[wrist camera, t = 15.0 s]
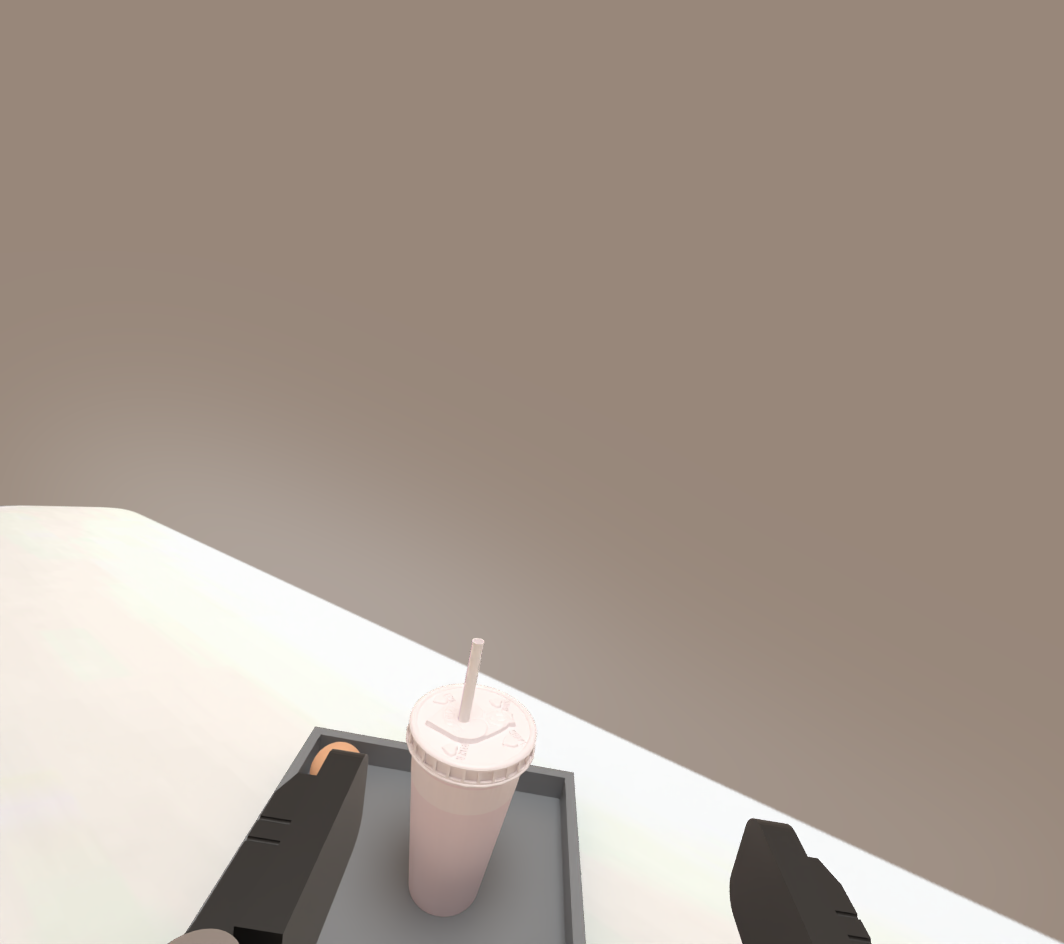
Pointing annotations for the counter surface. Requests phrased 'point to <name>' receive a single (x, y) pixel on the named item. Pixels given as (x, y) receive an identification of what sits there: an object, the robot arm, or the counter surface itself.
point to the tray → (510, 877)
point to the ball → (325, 751)
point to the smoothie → (461, 785)
